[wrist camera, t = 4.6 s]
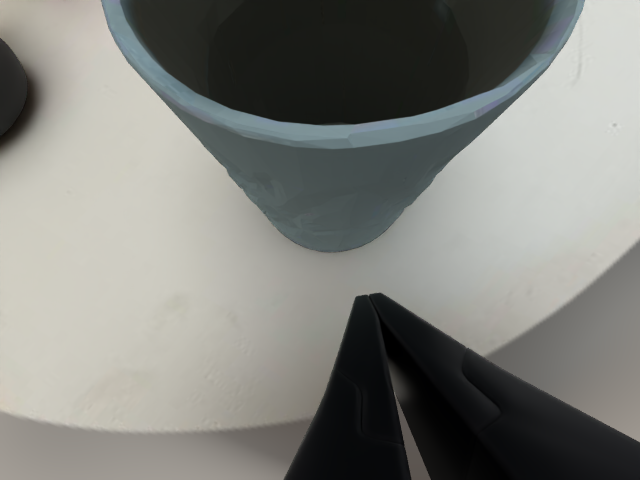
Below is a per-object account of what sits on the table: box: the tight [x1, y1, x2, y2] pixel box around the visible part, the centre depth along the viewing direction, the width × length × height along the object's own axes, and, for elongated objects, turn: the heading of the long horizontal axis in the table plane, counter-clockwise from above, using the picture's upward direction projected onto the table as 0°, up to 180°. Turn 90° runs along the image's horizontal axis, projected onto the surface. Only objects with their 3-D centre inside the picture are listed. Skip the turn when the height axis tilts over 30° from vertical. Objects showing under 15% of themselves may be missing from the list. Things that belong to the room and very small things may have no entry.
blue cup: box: [101, 0, 585, 252], centre depth 12 cm, size 10×10×12 cm
